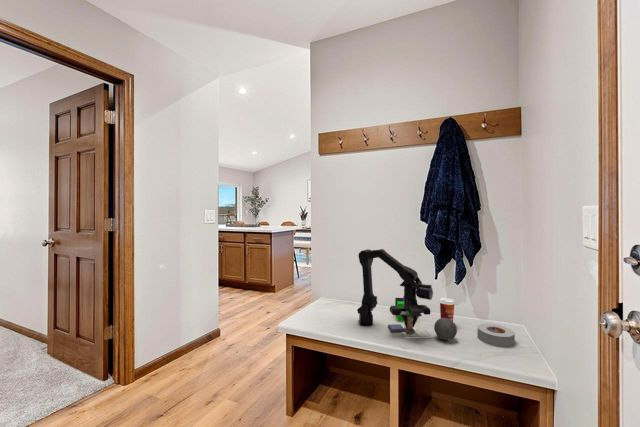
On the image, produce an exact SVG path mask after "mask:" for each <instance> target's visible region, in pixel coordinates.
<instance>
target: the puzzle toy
mask: <svg viewBox="0 0 640 427" xmlns="http://www.w3.org/2000/svg"><path fill="white" fill-rule="evenodd" d="M394 300H395V301H394V302H395V303H394V304H395V305H394V306H398V307H399V308H404V307H403V304H404V298H403V297H395V298H394ZM408 314H409V312H406V315H408ZM395 318H396V320H397V322H403V323H404V321H403V318H402V316H400V315H395ZM417 322H418V319H417V320H416V323H417Z"/></svg>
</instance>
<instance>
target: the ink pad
mask: <svg viewBox="0 0 640 427" xmlns="http://www.w3.org/2000/svg"><path fill="white" fill-rule="evenodd" d="M387 329H388V330H389V331H390V333H391V334H394V333H395V334H397V333H400V334H402V333H401V332H405V331H404V326H403V325H402V324H401V323H396V324H394V323H392V324H387Z"/></svg>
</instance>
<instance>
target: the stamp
mask: <svg viewBox="0 0 640 427" xmlns="http://www.w3.org/2000/svg"><path fill="white" fill-rule="evenodd" d="M413 319H414V318H413V316H410V315H409V314H408V315H407V328H406V327H404V326H403V328H404V331H405V332H406V333H407V334H415V331H416V330H415V329H414V327H413Z"/></svg>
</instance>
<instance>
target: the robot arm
mask: <svg viewBox="0 0 640 427" xmlns="http://www.w3.org/2000/svg"><path fill="white" fill-rule="evenodd" d="M357 255H358V256H357V257H358V262H359V263H360V266H361V267H362V268H361V269H362V283H363V285H362V286H363V296H362V297H361V298H362V299H361V306H359V307H358V308H357V314H358V316H359V318H358V319H359V320H358V323H359V325H360V326H362V327H363V326H365V327H366V326H367V327H368V326H373V325H374V324H373V323H374V315H373V313H372V311H373V310H374V309H375V308H376V307H377V304H378V296H377V295H375V294H374V291H373V276H372V272H373V271H372V265H373V262H374V259H376V258H378V259H380V260H382V262H384V263H385V264H387V265H388V266H389V267H390V268H392V269H393V270H394V271H395V272H396V273H397V274H398V276H399V277H400V278H401V279H402V282H401V283H400V284H399V286H400V287H402V288H403V296H402V298H404V304H403V307H404V308H399V307H398V306H395V305H390V307H389V312H390V314H391V315H392V316H396V315H400V316H402V318H403V321H404V322H403V323H404V326H405V327H406V328H407V315H406V312H409V315H410V316H413V318H414V319H413V328H414V327H415V325H416V323H417V322H416V320H417V321H418V319H419V317H422V314H423V315H427V316H428V315H431V311H432V310H431V309H430V308H429V307H428V306H427V305H425V304H418V300H417V299H418V298H419V299H423V300H429V301H431V300H433V297H434V290H433V287H432V285H431V284H424V283H423V281H422V280H421V279H420V278H419V275H418V272H417V271H416V270H415V269H413V268H411V267H410V266H407V265H403V264H402V263H401V262H399V261H398V260H397V259H396V258H394V257H393V256H392V255H391V254H390V253H388V252H387V251H386V250H385V249H384V248H381V249H373V250H371V249H368V248H367V249H364V250H361V251H360V252H359V253H358V254H357ZM417 297H418V298H417Z"/></svg>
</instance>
